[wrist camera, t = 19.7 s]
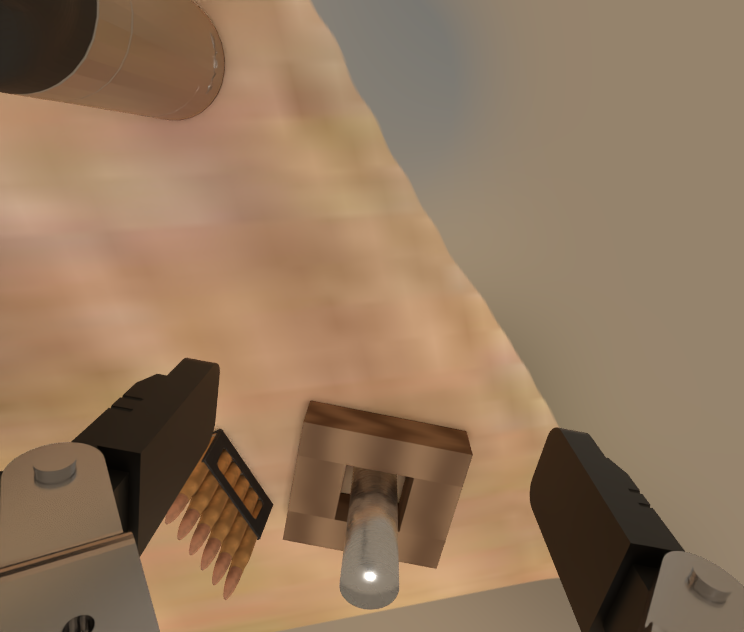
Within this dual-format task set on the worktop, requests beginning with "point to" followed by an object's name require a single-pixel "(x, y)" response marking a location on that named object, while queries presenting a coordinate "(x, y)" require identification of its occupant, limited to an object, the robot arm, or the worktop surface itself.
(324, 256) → the worktop surface
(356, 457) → the walnut socket block
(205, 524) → the ammunition clip
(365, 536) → the steel pin
